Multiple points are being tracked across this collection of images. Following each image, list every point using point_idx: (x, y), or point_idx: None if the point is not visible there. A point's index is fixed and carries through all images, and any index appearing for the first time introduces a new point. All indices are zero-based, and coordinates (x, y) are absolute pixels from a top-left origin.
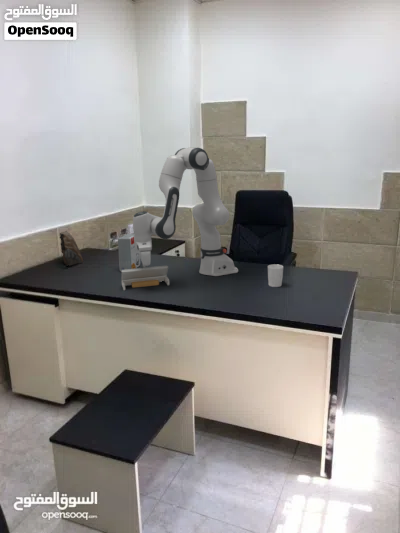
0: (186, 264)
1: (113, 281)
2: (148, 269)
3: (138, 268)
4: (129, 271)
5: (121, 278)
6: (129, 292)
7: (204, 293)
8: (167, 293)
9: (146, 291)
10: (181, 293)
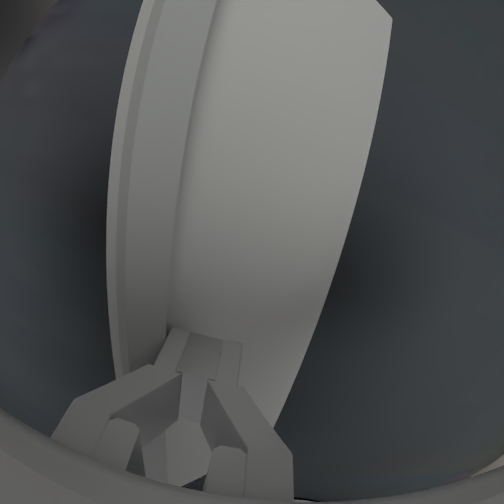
0: (428, 478)
1: (496, 54)
2: (117, 377)
3: (122, 235)
4: (143, 4)
5: (379, 8)
6: (123, 50)
7: (26, 403)
8: (26, 300)
9: (83, 192)
10: (24, 351)
